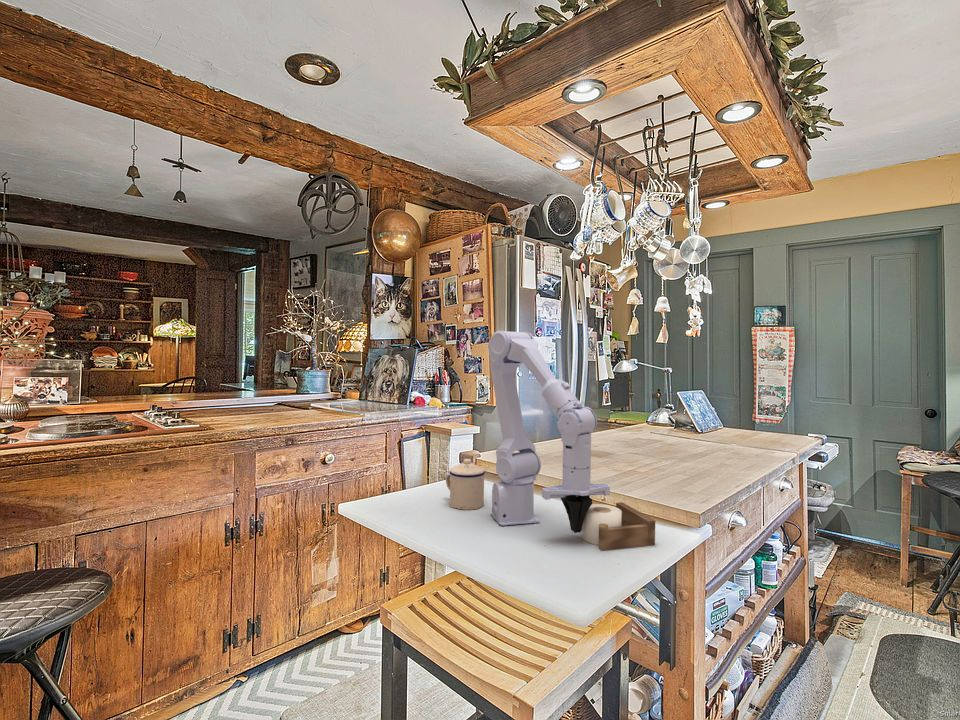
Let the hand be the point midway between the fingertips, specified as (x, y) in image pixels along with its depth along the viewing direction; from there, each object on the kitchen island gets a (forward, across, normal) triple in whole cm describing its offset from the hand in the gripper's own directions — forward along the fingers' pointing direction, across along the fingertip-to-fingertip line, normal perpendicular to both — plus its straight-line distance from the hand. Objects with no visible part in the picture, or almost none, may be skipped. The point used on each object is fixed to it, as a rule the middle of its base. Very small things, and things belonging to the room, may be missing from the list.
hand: (575, 530), depth 101 cm
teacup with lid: (+2, -18, +29) cm, 34 cm away
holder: (+2, +8, 0) cm, 8 cm away
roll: (+2, +6, 0) cm, 6 cm away
